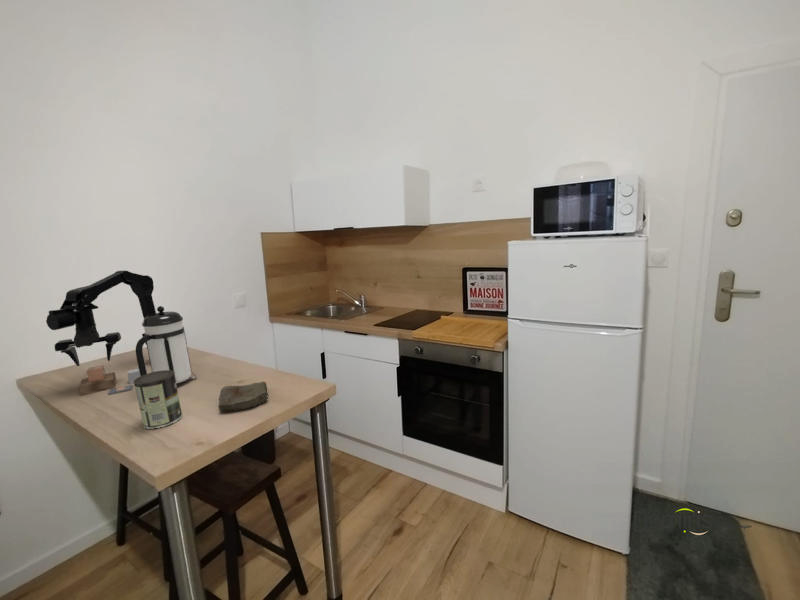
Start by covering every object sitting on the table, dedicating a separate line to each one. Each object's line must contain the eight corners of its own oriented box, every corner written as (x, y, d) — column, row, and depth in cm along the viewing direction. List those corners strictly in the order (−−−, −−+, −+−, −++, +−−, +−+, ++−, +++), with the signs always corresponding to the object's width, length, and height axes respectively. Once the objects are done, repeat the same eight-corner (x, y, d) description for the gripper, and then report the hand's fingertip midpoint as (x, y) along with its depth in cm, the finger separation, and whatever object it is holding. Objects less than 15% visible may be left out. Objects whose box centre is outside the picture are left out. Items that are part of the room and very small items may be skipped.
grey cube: (144, 378, 153) (142, 367, 152) (142, 381, 149) (140, 371, 149) (131, 380, 151) (128, 370, 150) (129, 384, 147) (127, 373, 147)
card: (133, 385, 145) (133, 384, 145) (131, 390, 141) (131, 388, 141) (110, 390, 142) (110, 388, 142) (108, 395, 138) (107, 393, 138)
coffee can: (175, 409, 122) (167, 367, 119) (187, 418, 115) (179, 374, 112) (138, 423, 114) (128, 378, 112) (148, 433, 107) (139, 386, 105)
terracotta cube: (105, 375, 148) (103, 365, 147) (103, 379, 144) (101, 368, 143) (91, 378, 146) (89, 367, 145) (89, 382, 142) (86, 370, 141)
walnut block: (116, 381, 153) (114, 371, 152) (115, 388, 144) (113, 378, 144) (84, 388, 147) (82, 378, 146) (81, 396, 139) (79, 386, 138)
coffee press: (150, 382, 147) (135, 306, 142) (196, 373, 154) (184, 300, 149) (144, 399, 132) (127, 314, 126) (196, 387, 139) (182, 307, 133)
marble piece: (223, 396, 130) (221, 385, 130) (268, 388, 135) (266, 377, 134) (217, 417, 115) (215, 404, 114) (268, 407, 119) (266, 395, 119)
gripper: (44, 331, 130) (55, 375, 133) (111, 322, 138) (120, 363, 141) (55, 325, 140) (64, 366, 142) (117, 317, 148) (125, 356, 151)
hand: (93, 363), depth 144 cm, fingers open, 9 cm apart
